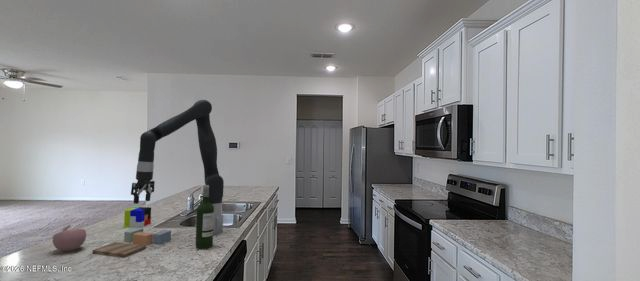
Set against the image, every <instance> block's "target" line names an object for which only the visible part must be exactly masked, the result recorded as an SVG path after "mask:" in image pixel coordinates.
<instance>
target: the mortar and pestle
mask: <svg viewBox="0 0 640 281" xmlns="http://www.w3.org/2000/svg"><path fill="white" fill-rule="evenodd" d="M70 227H71V224H68V225H67V226H64V227H63V229H62V231H60V232H57V233H55V234H54V235H53V236H52V244H53V246H54V248H56V250H58V251H61V252H72V251H75V250H77V249H78V248H80V247H81V246H82V245H83V244H84V243H85V241H86V238H87V231H86V229H84V228H74V229H69V228H70Z"/></svg>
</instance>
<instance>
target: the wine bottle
mask: <svg viewBox="0 0 640 281" xmlns="http://www.w3.org/2000/svg"><path fill="white" fill-rule="evenodd" d="M202 188H203V190H202V191H203V192H202V201H201V203H200V204H199V205H198V206H197V208H196V220H195V221H196V223H195V248H196V249H198V250H206V249H207V250H208V249H211V248H212V247H213V245H214V243H213V241H214V235H213V220H214V207H213V205H212V204H211V203H210V202H209V185H205V184H204V185H203V186H202Z"/></svg>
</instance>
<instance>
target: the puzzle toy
mask: <svg viewBox="0 0 640 281" xmlns="http://www.w3.org/2000/svg"><path fill="white" fill-rule="evenodd" d="M123 217H124V218H123V219H124V220H123V221H124V222H123V227H124V228H132V229H135V228H144V227H146V226H148V225H151V220H152V219H151V217H152V207H148V206H147V207H146V206H134V207H130V208H128V209H125V210H124V216H123Z"/></svg>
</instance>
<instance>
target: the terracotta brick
mask: <svg viewBox="0 0 640 281" xmlns="http://www.w3.org/2000/svg"><path fill="white" fill-rule="evenodd" d="M153 234H154V233H153V232H144V231H143V232H138V233H135V234H133V242H132V244H136V245H144V246H146V247H147V246H149V245H153Z"/></svg>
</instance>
